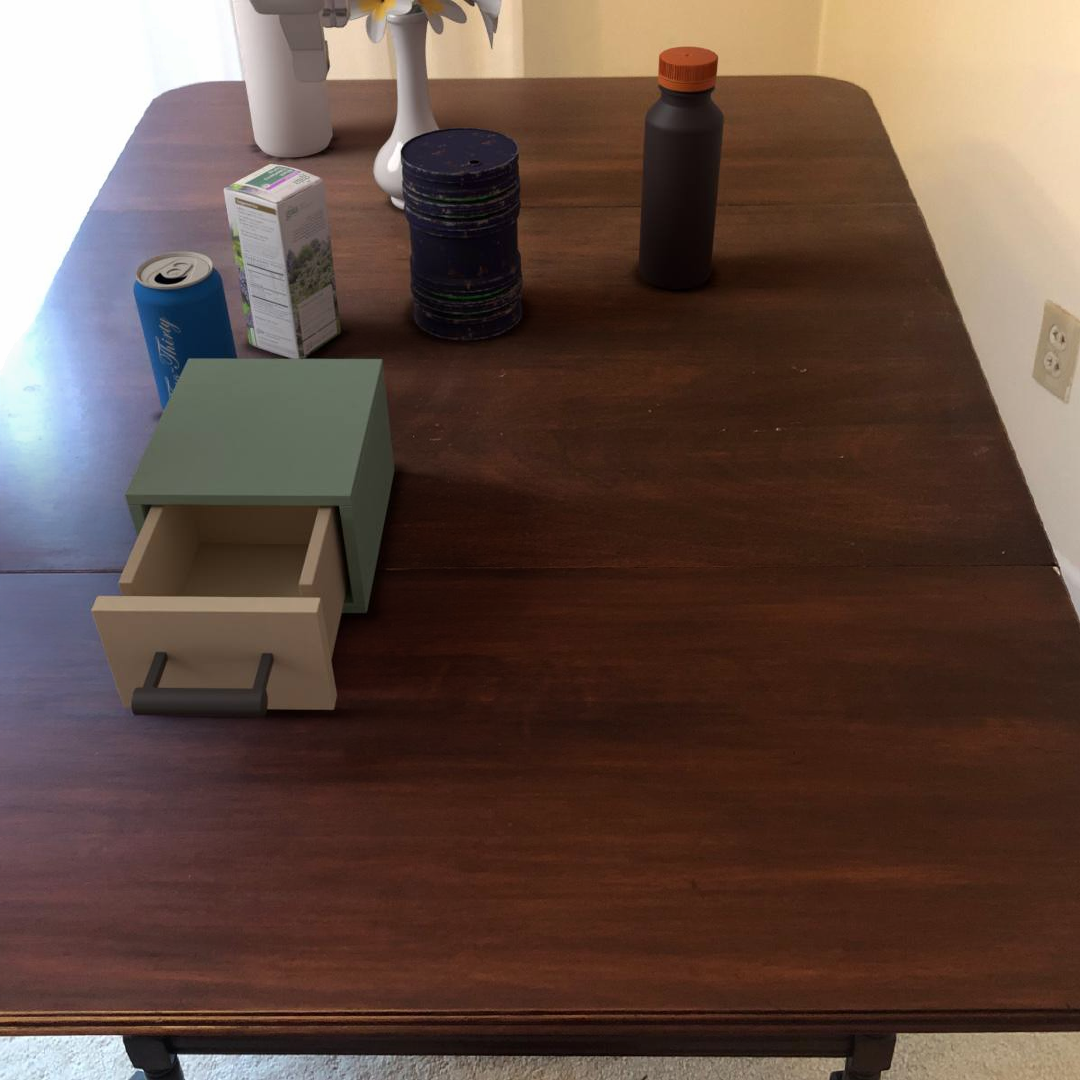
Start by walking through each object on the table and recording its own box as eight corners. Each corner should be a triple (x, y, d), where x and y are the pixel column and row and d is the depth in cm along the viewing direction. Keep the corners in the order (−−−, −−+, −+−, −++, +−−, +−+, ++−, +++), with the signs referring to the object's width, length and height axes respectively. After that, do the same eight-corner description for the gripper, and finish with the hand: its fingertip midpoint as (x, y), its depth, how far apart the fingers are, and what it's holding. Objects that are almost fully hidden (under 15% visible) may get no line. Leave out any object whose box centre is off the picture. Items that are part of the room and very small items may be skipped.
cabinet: (366, 613, 79) (350, 495, 73) (157, 612, 79) (124, 494, 73) (394, 470, 91) (382, 358, 85) (213, 469, 91) (188, 358, 85)
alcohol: (260, 131, 143) (214, -161, 124) (336, 128, 143) (301, -163, 124) (251, 160, 136) (201, -143, 117) (330, 158, 136) (293, -146, 117)
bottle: (630, 286, 113) (639, 65, 100) (647, 253, 118) (657, 39, 105) (702, 296, 111) (721, 72, 98) (717, 262, 116) (736, 46, 103)
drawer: (322, 767, 68) (303, 668, 63) (101, 764, 68) (65, 666, 63) (367, 550, 82) (354, 456, 77) (184, 548, 83) (160, 454, 78)
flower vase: (522, 218, 124) (517, -47, 108) (339, 231, 122) (307, -37, 106) (507, 168, 134) (500, -82, 118) (337, 178, 132) (307, -74, 116)
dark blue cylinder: (395, 301, 111) (380, 140, 101) (493, 277, 114) (487, 119, 105) (440, 351, 104) (428, 183, 94) (542, 324, 107) (541, 159, 98)
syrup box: (291, 317, 109) (267, 159, 99) (344, 334, 106) (324, 174, 97) (248, 346, 105) (218, 184, 96) (302, 364, 103) (277, 200, 93)
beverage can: (148, 422, 96) (112, 284, 88) (185, 379, 101) (155, 245, 93) (224, 432, 95) (194, 293, 87) (258, 388, 100) (233, 253, 92)
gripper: (265, -257, 70) (297, -3, 79) (185, -196, 54) (237, 114, 63) (375, -259, 70) (395, -4, 79) (327, -197, 54) (359, 113, 63)
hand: (325, 49), depth 71 cm, fingers open, 8 cm apart
